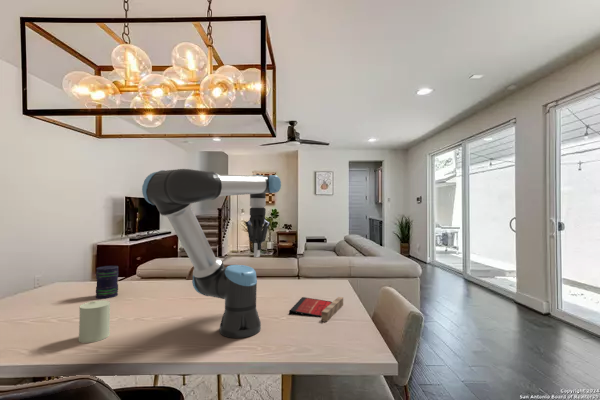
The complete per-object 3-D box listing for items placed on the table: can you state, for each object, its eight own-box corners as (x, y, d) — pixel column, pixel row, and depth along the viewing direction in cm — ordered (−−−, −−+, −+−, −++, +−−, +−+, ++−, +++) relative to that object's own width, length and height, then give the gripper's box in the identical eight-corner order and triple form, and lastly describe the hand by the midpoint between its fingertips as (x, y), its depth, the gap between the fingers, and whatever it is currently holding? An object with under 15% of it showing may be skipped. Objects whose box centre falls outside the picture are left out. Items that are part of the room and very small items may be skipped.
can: (104, 329, 113) (105, 297, 113) (113, 336, 107) (114, 302, 107) (74, 337, 105) (75, 303, 106) (83, 345, 100) (83, 309, 100)
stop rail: (327, 321, 122) (327, 312, 122) (321, 320, 123) (321, 311, 123) (343, 304, 143) (343, 297, 143) (338, 304, 144) (338, 296, 144)
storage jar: (104, 293, 161) (105, 265, 162) (122, 293, 161) (122, 265, 161) (90, 298, 151) (91, 269, 152) (109, 299, 151) (110, 269, 151)
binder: (289, 309, 130) (301, 296, 150) (288, 315, 130) (301, 301, 150) (325, 315, 126) (333, 300, 146) (325, 320, 126) (333, 305, 146)
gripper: (273, 207, 144) (272, 256, 143) (251, 207, 150) (250, 254, 149) (264, 207, 138) (263, 258, 137) (241, 207, 144) (241, 256, 143)
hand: (256, 256), depth 143 cm, fingers closed
